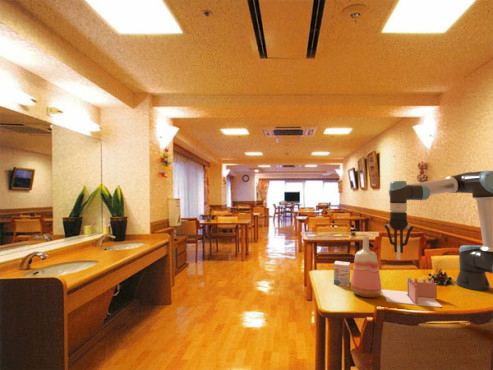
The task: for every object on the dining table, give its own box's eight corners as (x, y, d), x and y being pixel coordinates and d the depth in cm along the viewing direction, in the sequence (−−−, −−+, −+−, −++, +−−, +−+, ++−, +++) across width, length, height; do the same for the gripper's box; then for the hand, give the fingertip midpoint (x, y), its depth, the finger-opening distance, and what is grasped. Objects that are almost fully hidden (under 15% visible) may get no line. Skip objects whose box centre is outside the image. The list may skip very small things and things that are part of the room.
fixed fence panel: (435, 297, 144) (435, 279, 144) (436, 298, 142) (436, 280, 143) (407, 294, 147) (407, 277, 147) (408, 295, 146) (408, 278, 146)
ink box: (333, 284, 164) (333, 263, 165) (334, 280, 172) (334, 260, 173) (349, 286, 161) (349, 265, 161) (350, 282, 169) (350, 261, 169)
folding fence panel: (408, 295, 145) (408, 278, 145) (411, 296, 145) (411, 278, 145) (415, 303, 135) (415, 284, 135) (418, 303, 135) (417, 285, 135)
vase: (379, 302, 137) (379, 239, 138) (348, 296, 145) (348, 236, 146) (383, 293, 150) (383, 236, 151) (354, 288, 157) (354, 233, 158)
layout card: (429, 294, 149) (429, 293, 149) (442, 307, 131) (442, 306, 131) (380, 290, 155) (380, 289, 155) (387, 301, 138) (387, 300, 138)
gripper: (383, 211, 144) (384, 259, 143) (413, 212, 138) (414, 262, 137) (384, 210, 151) (384, 256, 150) (412, 211, 145) (413, 259, 144)
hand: (398, 259), depth 144 cm, fingers closed
